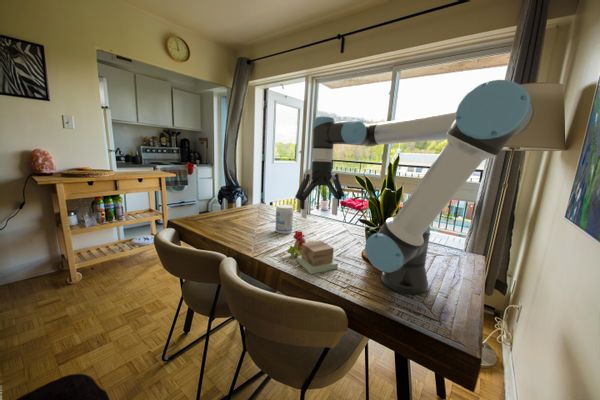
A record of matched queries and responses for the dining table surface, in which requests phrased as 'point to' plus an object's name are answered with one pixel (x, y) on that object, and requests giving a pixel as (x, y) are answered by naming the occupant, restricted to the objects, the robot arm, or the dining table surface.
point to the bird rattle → (297, 244)
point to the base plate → (316, 268)
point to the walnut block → (317, 253)
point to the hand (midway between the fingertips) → (319, 216)
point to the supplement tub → (284, 219)
